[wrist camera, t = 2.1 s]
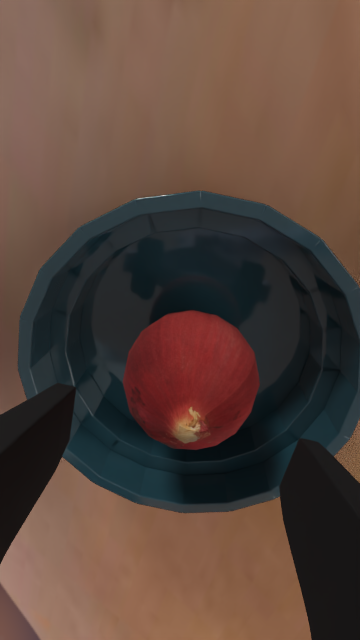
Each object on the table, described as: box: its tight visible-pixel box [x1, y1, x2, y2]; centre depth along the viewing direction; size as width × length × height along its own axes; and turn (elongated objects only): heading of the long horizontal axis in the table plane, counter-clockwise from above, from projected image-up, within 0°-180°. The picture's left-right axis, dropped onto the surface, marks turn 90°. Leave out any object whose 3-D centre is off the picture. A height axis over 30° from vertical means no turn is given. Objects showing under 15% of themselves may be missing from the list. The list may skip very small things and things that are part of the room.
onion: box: [123, 310, 260, 450], centre depth 15 cm, size 6×6×8 cm
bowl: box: [18, 191, 360, 513], centre depth 17 cm, size 15×15×4 cm
